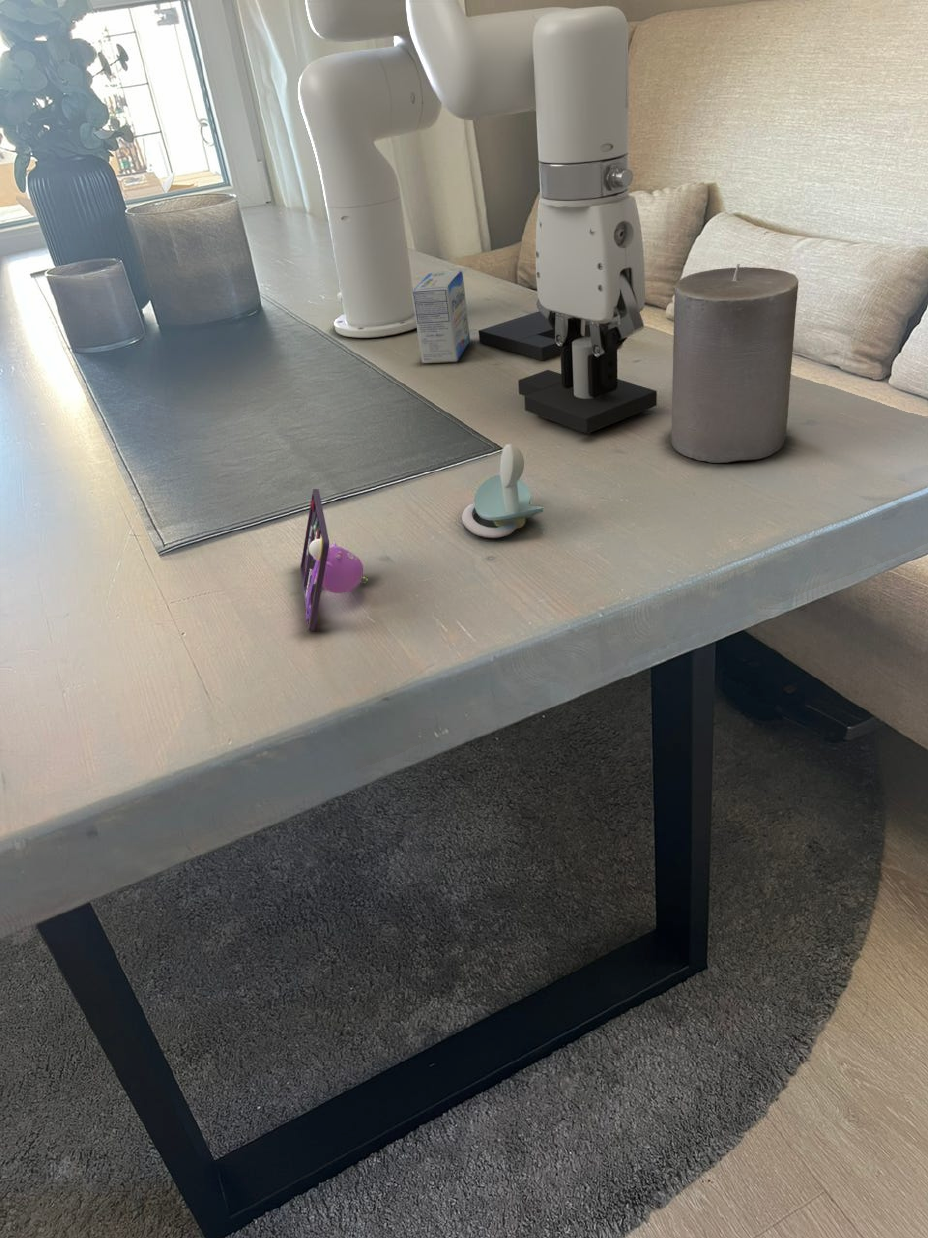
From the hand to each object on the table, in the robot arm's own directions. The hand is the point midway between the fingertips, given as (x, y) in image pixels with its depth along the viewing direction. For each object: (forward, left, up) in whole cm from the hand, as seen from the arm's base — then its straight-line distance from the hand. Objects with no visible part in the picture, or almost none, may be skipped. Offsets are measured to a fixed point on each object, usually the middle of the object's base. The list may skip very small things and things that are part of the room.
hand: (589, 386), depth 90 cm
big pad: (-23, +14, -3) cm, 27 cm away
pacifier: (+11, -20, -3) cm, 23 cm away
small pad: (-2, 0, -2) cm, 3 cm away
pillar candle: (+14, +3, -3) cm, 15 cm away
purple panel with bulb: (+11, -35, -3) cm, 37 cm away
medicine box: (-29, +3, -3) cm, 29 cm away
